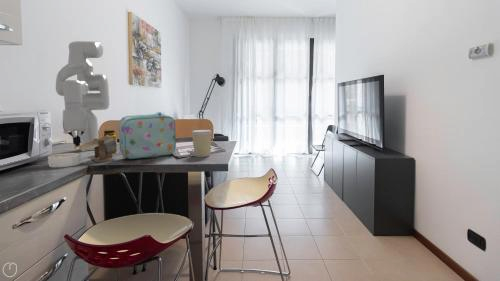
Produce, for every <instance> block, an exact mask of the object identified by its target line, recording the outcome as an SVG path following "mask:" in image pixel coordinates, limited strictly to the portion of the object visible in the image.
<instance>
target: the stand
mask: <svg viewBox="0 0 500 281" xmlns="http://www.w3.org/2000/svg"><path fill="white" fill-rule="evenodd" d="M98 139H99V138H98ZM93 140H97V139H93ZM98 144H99V146H97V147H95V148H94V150H93V151H94V152H93V153H94V157H91V158H90V159H91V160H92V161H94V162H96V163H105V161H106V162H111V161H115V158H113V154H112V153H105V144H104V140H98Z"/></svg>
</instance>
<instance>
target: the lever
mask: <svg viewBox="0 0 500 281" xmlns="http://www.w3.org/2000/svg"><path fill="white" fill-rule="evenodd" d="M98 140H104V144H105V151H107V152H110V151H112V150H115V149H117V150H118V147H117V148H116V146H115V143H114V141H113V140H114V139H113V137H112V136H109V135H107V136H105V137H104V136H102V137H100V138H99V139H97V140H94V141H91V142H89V143H86V144H83V145H82V144H81V143H80V145H77V146H76V145H75V144H74V145H73V146H72V147H71V148H72V149H74V150H77V151H81V152H87V151H90V150H89V149H92V148H95V147H97V146H99V144H98Z"/></svg>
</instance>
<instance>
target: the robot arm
mask: <svg viewBox="0 0 500 281" xmlns="http://www.w3.org/2000/svg"><path fill="white" fill-rule="evenodd" d="M103 47H104V46H103V45H102V43H101V42H100V41H88V40H87V41H80V40H79V41H77V40H76V41H71V42H69V44H68V61H67V64H66V65H64V66H62V68H61V69H60V70H59V71H58V72H57V74H56V80H55V92H56V94H57V95H58V96H60V97H63V101H64V109H63V110H62V130H63V131H62V132H63V134H65V135H69V136H70V137H71V138H72V143H73V145H74V146H75V145H76V146H77V145H80V144H82V145H83V144H86V143H89V142H91V141H94V140H93V139H98V138H99V137H100V136H99V126H98V118H97V115H96V114H95V113H94V112H93V111H104V110H108V109H109V107H110V96H109V94H110V93H109V90H110V89H109V82H108V81H109V80H108V77H107V76H106V75H105V74H102V73H97V74H96V73H94V65H93V64H92V63H91V62H90V60H88V59H99V58H101V57H103V54H104V48H103ZM73 76H76V79H69V78H72V77H73ZM93 92H95V93H93ZM75 131H76V132H75ZM88 151H94V148H92V149H89V150H88Z"/></svg>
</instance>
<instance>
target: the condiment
mask: <svg viewBox="0 0 500 281" xmlns="http://www.w3.org/2000/svg"><path fill="white" fill-rule="evenodd" d="M115 132H116V131H115V130H114V129H110V130H109V129H107V130H103V137H105V136H107V135H109V136H112V137H113V139H114V140H113V141H114V143H115V146H116V148H117V149H115V150H112V151H110V152H107V151H105V153H112V155H114V154H119V153H120V154H121V152H120V151H119V152H118V147H117V145H118V144H117V136H116V133H115Z"/></svg>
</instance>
